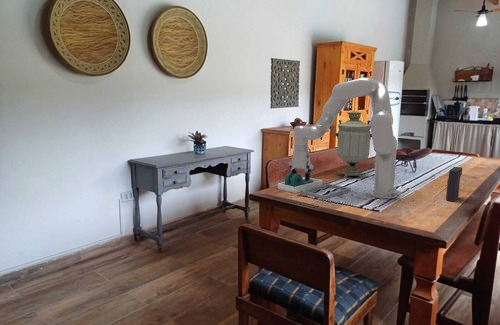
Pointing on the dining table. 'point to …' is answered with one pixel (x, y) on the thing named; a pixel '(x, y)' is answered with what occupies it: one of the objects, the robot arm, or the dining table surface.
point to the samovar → (353, 142)
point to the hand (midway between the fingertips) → (300, 178)
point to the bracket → (296, 180)
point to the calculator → (453, 183)
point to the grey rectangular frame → (343, 190)
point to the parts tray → (300, 188)
